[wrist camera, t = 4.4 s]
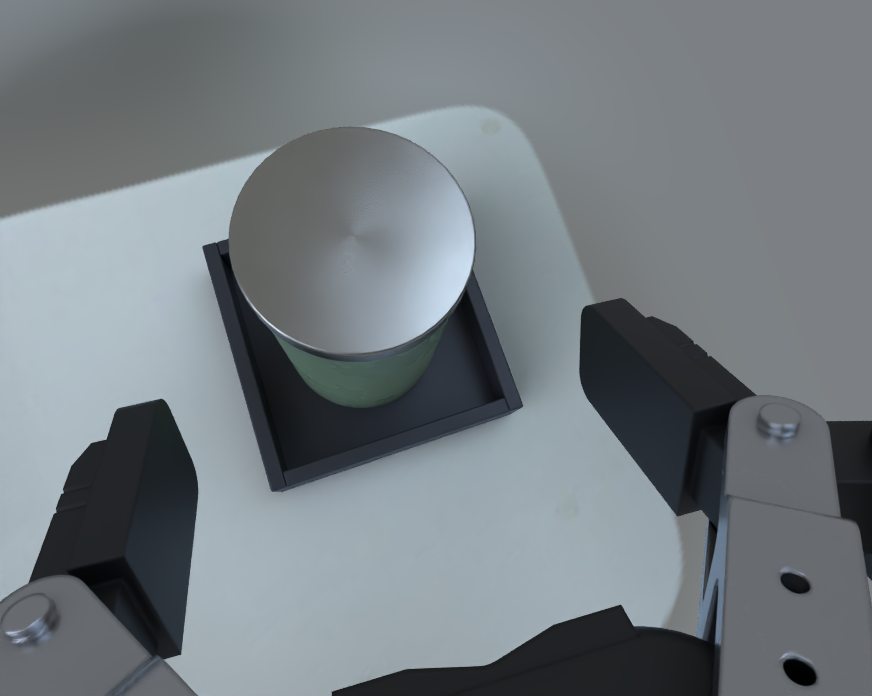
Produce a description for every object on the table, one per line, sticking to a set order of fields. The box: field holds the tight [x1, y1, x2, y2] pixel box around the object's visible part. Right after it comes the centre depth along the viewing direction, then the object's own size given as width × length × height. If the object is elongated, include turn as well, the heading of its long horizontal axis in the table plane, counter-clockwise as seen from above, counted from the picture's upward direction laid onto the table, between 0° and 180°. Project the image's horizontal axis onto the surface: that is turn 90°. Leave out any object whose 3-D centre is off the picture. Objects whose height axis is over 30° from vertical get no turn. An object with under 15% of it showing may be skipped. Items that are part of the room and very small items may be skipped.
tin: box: [229, 127, 476, 408], centre depth 18 cm, size 5×5×9 cm
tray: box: [202, 239, 523, 492], centre depth 22 cm, size 9×9×2 cm
